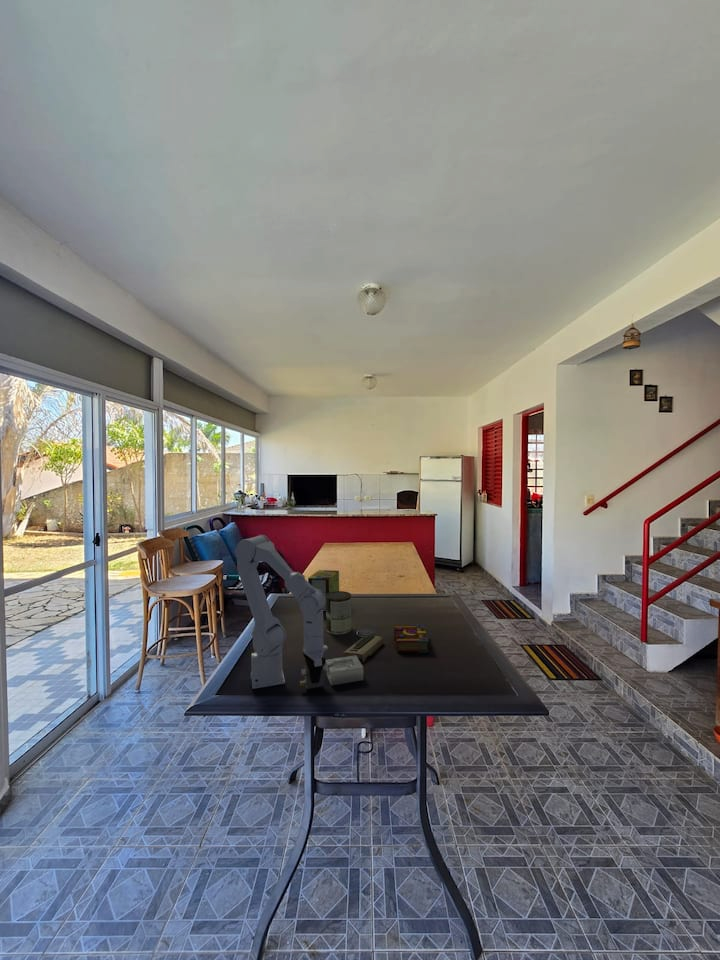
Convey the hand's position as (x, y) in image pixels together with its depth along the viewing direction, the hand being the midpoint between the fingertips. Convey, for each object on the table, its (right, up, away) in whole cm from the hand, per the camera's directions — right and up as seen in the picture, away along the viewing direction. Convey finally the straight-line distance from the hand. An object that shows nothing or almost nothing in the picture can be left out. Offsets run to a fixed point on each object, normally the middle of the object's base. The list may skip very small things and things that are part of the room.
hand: (314, 679), depth 115 cm
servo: (0, -2, 0) cm, 2 cm away
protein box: (-3, -2, +71) cm, 71 cm away
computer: (+15, -3, +24) cm, 29 cm away
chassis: (+9, -3, +7) cm, 11 cm away
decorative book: (+32, -2, +30) cm, 44 cm away
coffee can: (+5, -2, +43) cm, 44 cm away
